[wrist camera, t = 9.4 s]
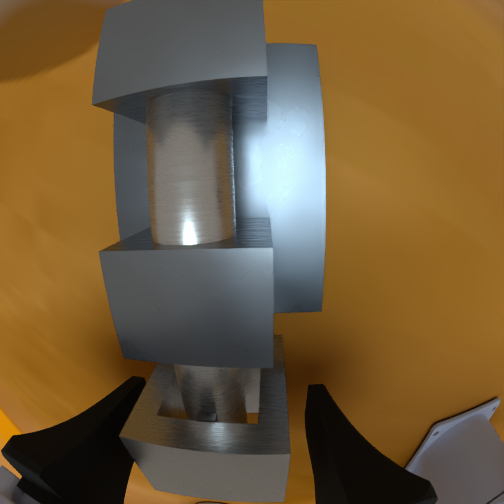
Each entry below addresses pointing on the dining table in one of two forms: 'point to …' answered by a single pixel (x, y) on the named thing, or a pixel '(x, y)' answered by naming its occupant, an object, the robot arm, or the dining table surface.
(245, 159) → the shaft stand
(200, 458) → the collar
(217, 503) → the supplement bottle
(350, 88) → the dining table surface
